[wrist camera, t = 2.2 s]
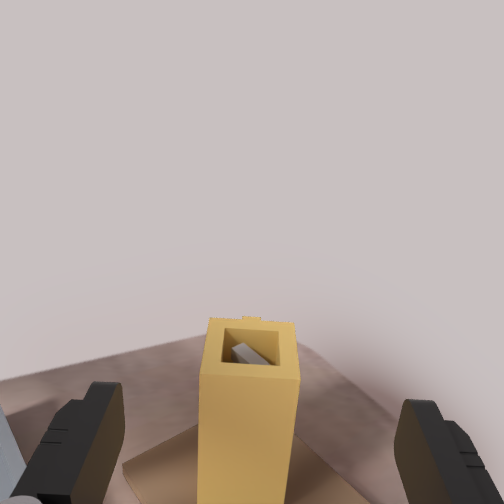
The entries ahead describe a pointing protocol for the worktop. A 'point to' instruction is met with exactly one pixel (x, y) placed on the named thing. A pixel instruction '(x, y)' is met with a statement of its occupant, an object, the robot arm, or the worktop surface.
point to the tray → (9, 459)
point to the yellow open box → (246, 412)
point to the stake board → (186, 467)
